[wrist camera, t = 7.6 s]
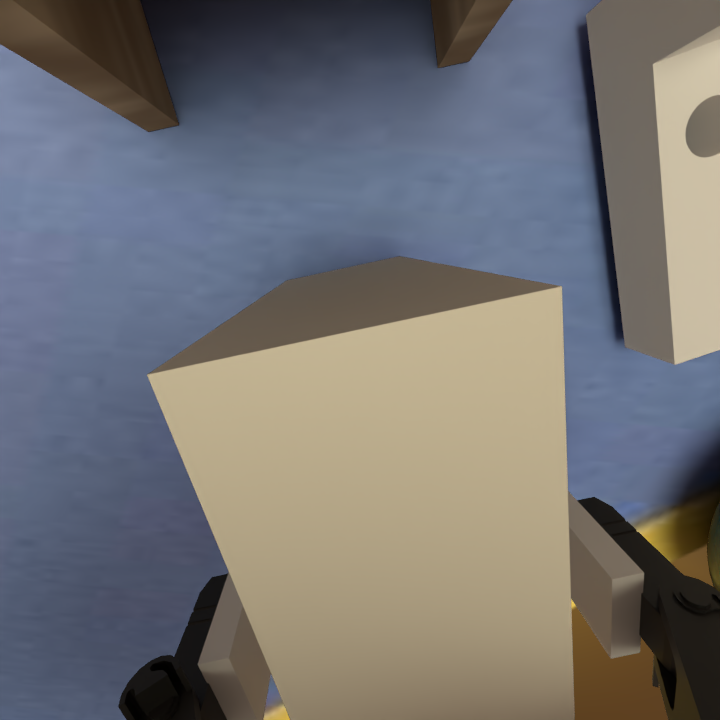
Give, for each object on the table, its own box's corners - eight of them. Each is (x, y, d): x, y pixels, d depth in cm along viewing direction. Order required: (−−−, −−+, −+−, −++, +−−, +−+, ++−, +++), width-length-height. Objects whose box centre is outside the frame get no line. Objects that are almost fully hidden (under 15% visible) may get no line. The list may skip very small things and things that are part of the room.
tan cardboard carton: (336, 472, 19) (331, 826, 7) (285, 280, 16) (142, 375, 4) (432, 452, 19) (578, 776, 7) (400, 256, 16) (565, 285, 4)
